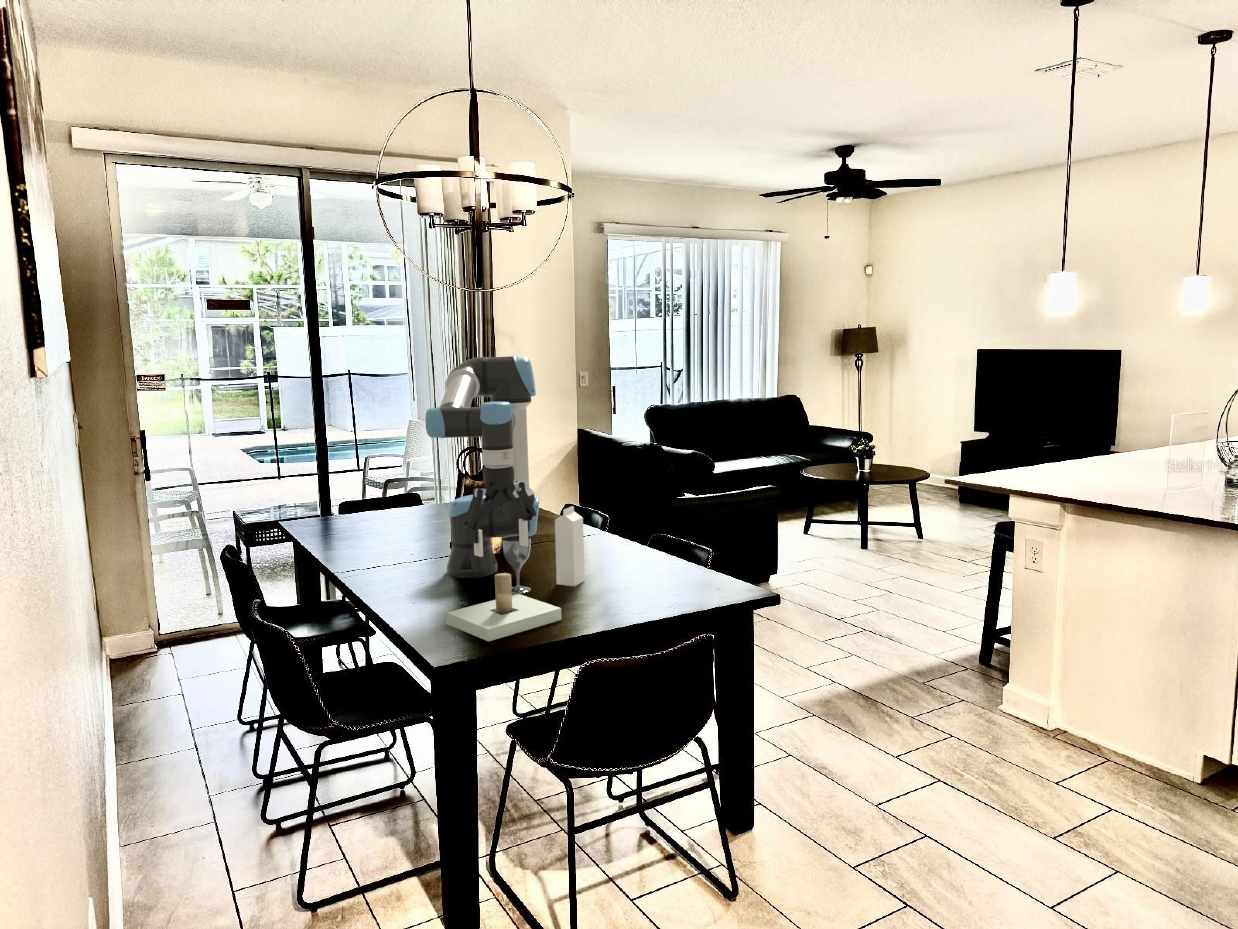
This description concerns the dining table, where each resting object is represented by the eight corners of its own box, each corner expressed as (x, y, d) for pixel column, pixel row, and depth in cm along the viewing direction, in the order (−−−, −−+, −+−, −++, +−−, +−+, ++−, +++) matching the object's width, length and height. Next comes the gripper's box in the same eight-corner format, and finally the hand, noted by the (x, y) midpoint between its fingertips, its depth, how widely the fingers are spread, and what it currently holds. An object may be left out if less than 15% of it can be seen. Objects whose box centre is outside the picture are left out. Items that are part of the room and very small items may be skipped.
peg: (493, 622, 219) (491, 575, 217) (506, 618, 222) (504, 572, 220) (502, 625, 216) (501, 578, 215) (515, 622, 219) (514, 575, 217)
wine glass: (533, 585, 250) (531, 534, 248) (531, 594, 243) (529, 541, 240) (505, 586, 250) (503, 535, 248) (502, 594, 242) (500, 541, 240)
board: (447, 624, 218) (446, 612, 218) (518, 604, 233) (518, 593, 233) (488, 641, 205) (488, 629, 205) (561, 619, 220) (561, 608, 220)
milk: (556, 584, 251) (553, 509, 248) (566, 579, 257) (564, 505, 254) (575, 586, 249) (572, 510, 246) (585, 581, 254) (582, 506, 251)
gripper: (463, 474, 202) (467, 563, 206) (548, 461, 219) (550, 543, 222) (445, 470, 208) (450, 557, 211) (530, 458, 224) (532, 538, 228)
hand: (501, 550), depth 217 cm, fingers open, 13 cm apart
